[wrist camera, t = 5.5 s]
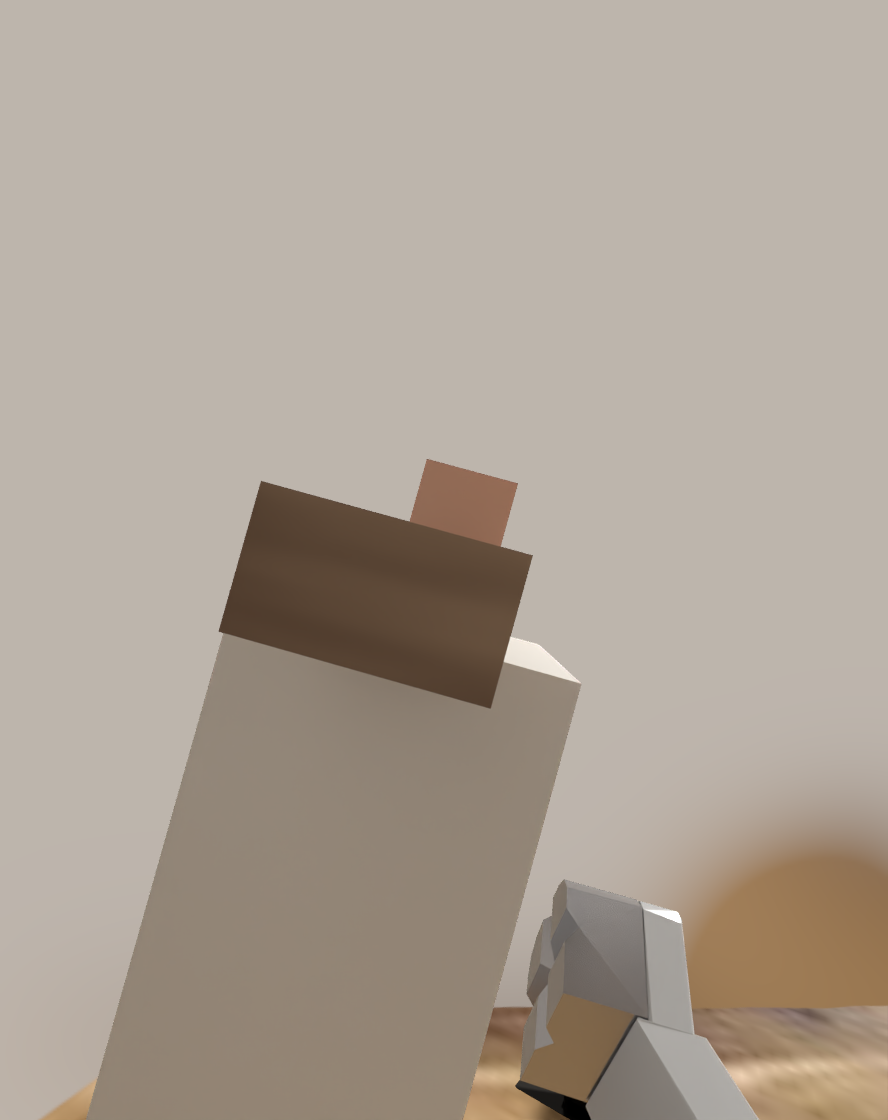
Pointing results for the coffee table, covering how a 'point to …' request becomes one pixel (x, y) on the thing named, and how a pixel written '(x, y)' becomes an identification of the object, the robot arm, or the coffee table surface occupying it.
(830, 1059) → the coffee table surface
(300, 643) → the walnut strip
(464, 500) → the terracotta cube
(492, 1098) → the coffee table surface
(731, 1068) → the coffee table surface
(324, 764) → the pedestal
